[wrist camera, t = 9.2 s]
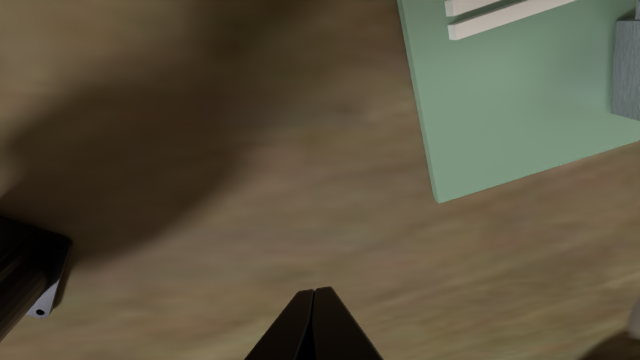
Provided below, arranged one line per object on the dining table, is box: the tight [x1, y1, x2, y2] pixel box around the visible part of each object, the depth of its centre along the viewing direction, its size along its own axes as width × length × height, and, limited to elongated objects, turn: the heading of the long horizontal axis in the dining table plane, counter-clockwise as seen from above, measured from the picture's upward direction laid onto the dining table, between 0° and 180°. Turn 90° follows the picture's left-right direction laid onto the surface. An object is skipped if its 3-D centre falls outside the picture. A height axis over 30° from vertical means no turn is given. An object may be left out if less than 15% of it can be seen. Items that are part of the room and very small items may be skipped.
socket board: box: [397, 0, 640, 203], centre depth 17 cm, size 18×14×4 cm
